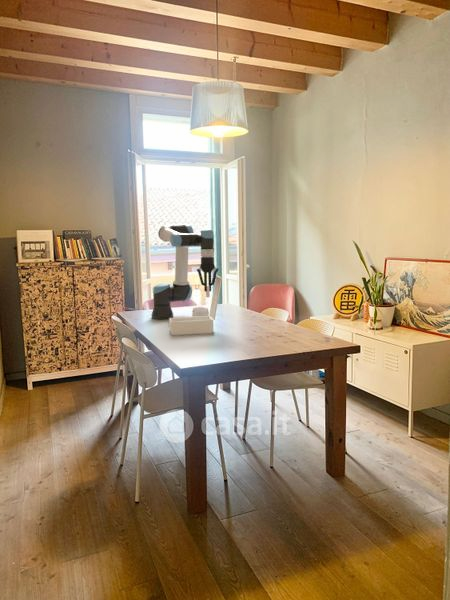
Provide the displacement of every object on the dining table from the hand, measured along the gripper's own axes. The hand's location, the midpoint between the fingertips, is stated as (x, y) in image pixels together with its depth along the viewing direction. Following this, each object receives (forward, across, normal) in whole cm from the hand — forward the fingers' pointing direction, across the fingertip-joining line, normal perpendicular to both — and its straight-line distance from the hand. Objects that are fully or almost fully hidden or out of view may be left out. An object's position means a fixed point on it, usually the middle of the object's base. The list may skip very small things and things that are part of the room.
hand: (207, 296), depth 261 cm
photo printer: (+21, -2, +16) cm, 26 cm away
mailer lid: (0, +3, 0) cm, 3 cm away
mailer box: (+21, -10, 0) cm, 23 cm away
